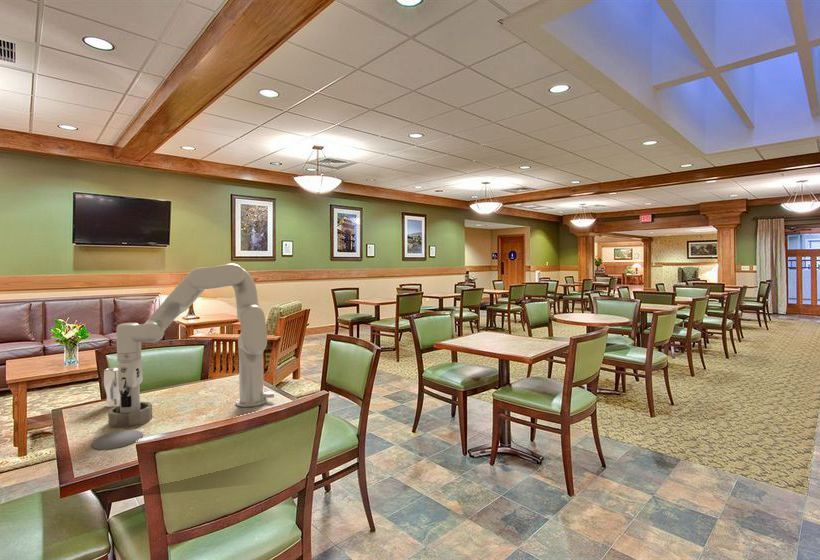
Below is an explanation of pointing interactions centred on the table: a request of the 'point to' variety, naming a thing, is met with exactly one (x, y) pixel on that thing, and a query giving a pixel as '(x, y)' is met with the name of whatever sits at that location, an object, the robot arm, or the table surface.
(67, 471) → the table surface
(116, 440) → the mat
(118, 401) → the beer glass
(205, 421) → the table surface
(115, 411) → the collar
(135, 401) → the travel mug
